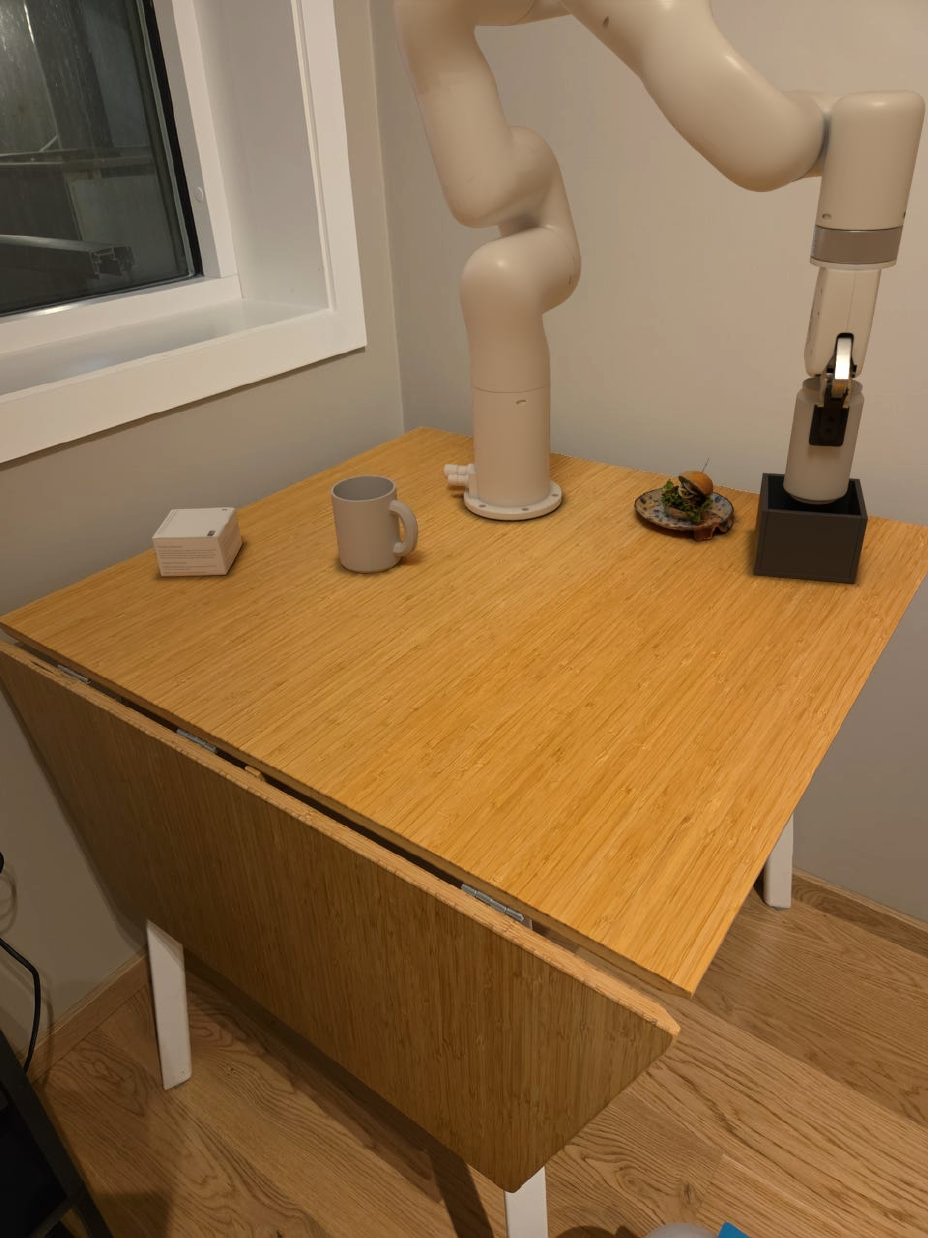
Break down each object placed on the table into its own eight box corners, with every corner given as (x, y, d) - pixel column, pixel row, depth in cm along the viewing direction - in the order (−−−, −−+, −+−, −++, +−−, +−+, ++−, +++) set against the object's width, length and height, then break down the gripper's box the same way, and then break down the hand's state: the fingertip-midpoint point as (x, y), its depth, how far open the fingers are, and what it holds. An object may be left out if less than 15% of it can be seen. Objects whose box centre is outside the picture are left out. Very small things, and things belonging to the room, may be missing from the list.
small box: (180, 546, 109) (171, 507, 107) (244, 544, 109) (236, 505, 106) (159, 577, 103) (149, 537, 100) (227, 576, 102) (218, 535, 100)
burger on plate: (628, 499, 115) (631, 444, 111) (722, 497, 114) (728, 441, 110) (640, 542, 105) (644, 483, 101) (743, 540, 104) (751, 480, 100)
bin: (753, 574, 97) (762, 510, 93) (754, 533, 106) (762, 472, 102) (854, 584, 95) (868, 518, 91) (847, 540, 103) (859, 478, 99)
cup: (359, 541, 108) (351, 471, 104) (434, 554, 105) (429, 483, 100) (328, 568, 103) (317, 496, 98) (405, 583, 99) (399, 509, 94)
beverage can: (848, 486, 97) (869, 376, 91) (842, 510, 92) (864, 395, 86) (786, 479, 100) (803, 371, 93) (777, 502, 95) (794, 389, 89)
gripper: (808, 230, 91) (783, 403, 100) (815, 264, 77) (786, 461, 86) (888, 229, 89) (855, 406, 99) (911, 264, 75) (870, 466, 85)
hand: (823, 430), depth 92 cm, fingers closed on beverage can, 6 cm apart
